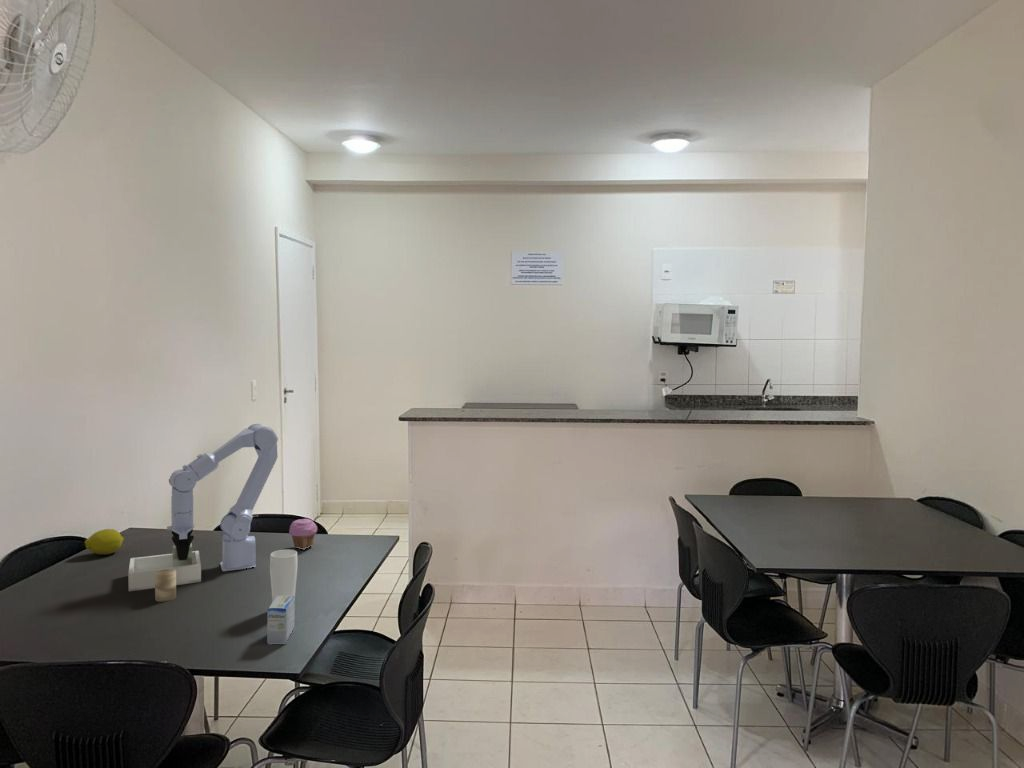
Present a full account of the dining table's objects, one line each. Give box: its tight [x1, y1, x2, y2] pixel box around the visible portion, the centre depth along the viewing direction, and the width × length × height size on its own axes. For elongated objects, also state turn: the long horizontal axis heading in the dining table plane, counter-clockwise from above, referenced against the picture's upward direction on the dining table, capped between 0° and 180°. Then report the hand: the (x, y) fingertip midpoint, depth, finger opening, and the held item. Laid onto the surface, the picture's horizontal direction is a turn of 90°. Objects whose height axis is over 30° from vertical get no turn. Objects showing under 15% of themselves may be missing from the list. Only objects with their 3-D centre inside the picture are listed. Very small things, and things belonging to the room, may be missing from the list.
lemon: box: [84, 528, 125, 556], centre depth 211 cm, size 11×8×8 cm
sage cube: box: [172, 542, 193, 567], centre depth 193 cm, size 5×5×5 cm
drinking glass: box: [269, 549, 299, 602], centre depth 171 cm, size 7×7×15 cm
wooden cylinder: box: [154, 569, 177, 603], centre depth 178 cm, size 5×5×7 cm
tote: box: [127, 550, 202, 592], centre depth 192 cm, size 18×14×5 cm
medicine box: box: [266, 595, 296, 644], centre depth 156 cm, size 8×4×9 cm, turn 5°
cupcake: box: [288, 518, 318, 548], centre depth 222 cm, size 9×9×10 cm
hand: (182, 556), depth 194 cm, fingers closed on sage cube, 5 cm apart
